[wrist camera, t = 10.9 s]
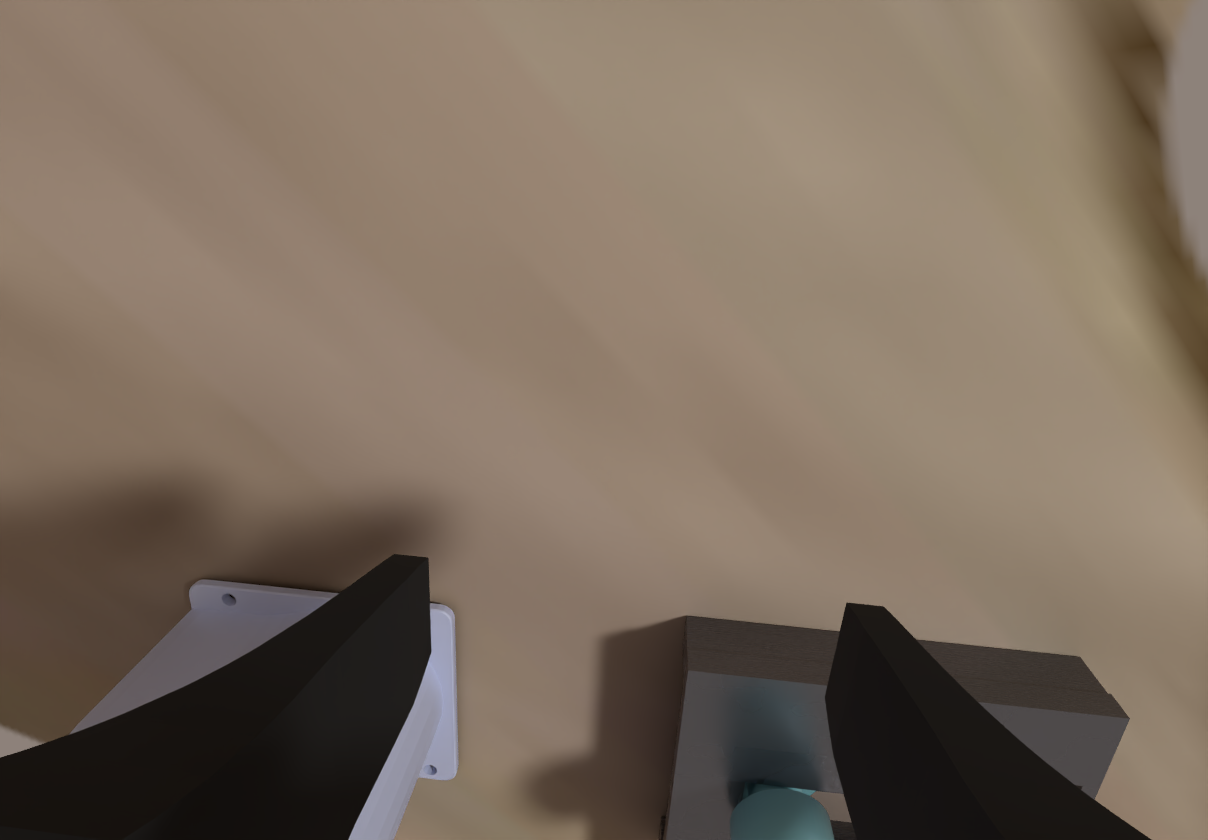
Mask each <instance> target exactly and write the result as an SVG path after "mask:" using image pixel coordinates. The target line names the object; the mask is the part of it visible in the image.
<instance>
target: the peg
mask: <svg viewBox="0 0 1208 840" xmlns="http://www.w3.org/2000/svg"><path fill="white" fill-rule="evenodd" d="M814 792H815V791H814V790H806V789H797V788H789V787H780V786H772V785H763V784H755V783H746V782H745V786H744V791H743V797H742V801H741V802H740V803H739V804H738V805H737V806H736V807H735V808H734V810H733V812H732V814H731V817H730V835H731V840H834V835H833V831H832V826H831V822H830V818H829V815H828V813H827V811H826V810H825V808H824V807H823V806H822V805H821V804H820V803H819V802H818V801H817V800H815V799H814V798H812V797H811V796H810V795H811V794H813V793H814Z"/></svg>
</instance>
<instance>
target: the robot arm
mask: <svg viewBox="0 0 1208 840" xmlns="http://www.w3.org/2000/svg"><path fill="white" fill-rule="evenodd" d="M229 594H231V595H233V596H234V597H235V599H234V598H232V597H231V596H229ZM189 598H190V603H191V608H192V609H191V610H190V611H189V612H188V613H187V614H186V615H185V616H184V617H183V618H182V619H181V620H180V621H179V622H178V623H177V624H176V625H175V626H174V627H173V628H172V629H171V630H170V631H169V632H168V633H167V634H166V635H165V636H164V637H163V638H162V639H161V640H160V641H159V642H158V643H157V644H156V645H155V647H154V648H153V649H152V650H151V651H150V652H149V653H148V654H147V655H146V656H145V657H144V658H143V659H142V660H141V661H140V662H139V663H138V664H137V665H136V666H135V667H134V668H133V669H132V670H131V671H130V672H129V673H128V674H127V675H126V676H125V677H124V678H123V679H122V680H121V681H120V682H119V683H118V684H117V685H116V686H115V687H114V688H113V689H112V690H111V691H110V692H109V693H108V694H107V695H106V696H105V697H104V698H103V699H102V700H101V701H100V702H99V703H98V704H97V705H96V706H95V707H94V708H93V709H92V710H91V711H90V712H89V713H88V714H87V715H86V716H85V717H84V718H83V719H82V720H81V721H80V722H79V723H78V724H77V726H76V727H75V728H74V729H73V730H72V731H71V733H70V734H69V735H67V736H64V737H61V738H58V739H56V740H53V741H50V742H47V743H44V744H41V745H38V746H35V747H32V748H30V749H27V750H24V751H21V752H18V753H14V754H11V755H7V756H4V757H1V758H0V840H394V838H395V835H396V832H397V830H398V827H399V825H400V822H401V820H402V817H403V815H404V812H405V809H406V807H407V804H408V802H409V799H410V797H411V794H412V792H413V789H414V787H415V784H416V781H417V779H418V777H421V778H429V779H437V780H450V779H453V778H454V777H455V775H456V772H457V769H458V726H457V685H456V643H455V616H454V613H453V611H452V610H451V609H450V608H449V607H447V606H445V605H442V604H434V603H430V592H429V563H428V558H426V557H417V556H407V555H398V554H394V555H392V556H391V557H389V558H388V559H386V560H385V561H383V562H382V563H381V564H379V565H378V566H376V567H375V568H374V569H372V570H371V571H370V572H368V573H367V574H365V575H364V576H363V577H361V578H360V579H359V580H357V581H356V582H354V583H353V584H352V585H350V586H349V587H347V588H346V589H345V590H343V591H342V592H340V593H330V592H321V591H311V590H302V589H292V588H283V587H273V586H264V585H255V584H245V583H236V582H226V581H217V580H207V579H202V580H199V581H197V582H196V583H195V584H194V585H193V586H191V588H190V589H189ZM430 619H431V620H430ZM825 703H826V711H827V718H828V725H829V732H830V738H831V745H832V751H833V756H834V760H835V764H836V767H837V771H838V775H839V778H840V782H841V786H842V789H843V793H844V796H845V800H846V804H847V807H848V811H849V814H850V818H851V821H852V825H853V828H854V832H855V835H856V839H857V840H1151V839H1150V838H1148V837H1147V836H1145V835H1144V834H1142V833H1141V832H1139V831H1138V830H1137V829H1135V828H1134V827H1132V826H1131V825H1129V824H1128V823H1126V822H1125V821H1124V820H1122V819H1121V818H1119V817H1118V816H1116V815H1115V814H1113V813H1112V812H1110V811H1109V810H1108V809H1106V808H1105V807H1104V806H1102V805H1101V804H1100V803H1098V802H1097V801H1095V800H1094V799H1093V798H1091V797H1090V796H1089V795H1087V794H1086V793H1085V792H1083V791H1082V790H1081V789H1079V788H1078V787H1077V786H1076V785H1074V784H1073V783H1072V782H1071V781H1069V780H1068V779H1067V778H1065V777H1064V776H1063V775H1062V774H1060V773H1059V772H1058V771H1057V770H1055V769H1054V768H1053V767H1051V766H1050V765H1049V764H1048V763H1046V762H1045V761H1044V760H1043V759H1041V758H1040V757H1039V756H1038V755H1037V754H1035V753H1034V752H1033V751H1032V750H1031V749H1029V748H1028V747H1027V746H1026V745H1025V744H1024V743H1022V742H1021V741H1020V740H1019V739H1018V738H1017V737H1016V736H1015V735H1013V734H1012V733H1011V732H1010V731H1009V730H1008V729H1007V728H1006V727H1004V726H1003V725H1002V724H1001V723H1000V722H999V721H998V720H997V719H996V718H994V717H993V716H992V715H991V714H990V713H989V712H988V711H987V710H986V709H985V708H984V707H983V706H982V705H980V704H979V703H978V702H977V701H976V700H975V699H974V698H973V697H972V696H971V695H970V694H969V693H968V692H967V691H966V690H965V689H964V688H963V687H962V686H961V685H960V684H959V683H958V682H957V681H956V680H955V679H954V678H953V677H952V676H951V675H950V674H949V673H948V672H947V671H946V670H945V669H944V668H943V667H942V666H941V665H940V664H939V663H938V662H937V661H936V660H935V659H934V658H933V657H932V656H931V655H930V654H929V653H928V652H927V651H926V650H925V649H924V648H923V647H922V645H921V644H920V643H919V642H918V641H917V640H916V639H915V638H914V637H913V636H912V635H911V634H910V633H909V632H908V631H907V630H906V629H905V628H904V627H903V626H902V625H901V624H900V622H899V621H898V620H897V619H896V618H895V617H894V616H893V615H892V614H891V613H890V612H889V611H888V610H887V609H886V608H884V607H883V606H874V605H864V604H855V603H846V607H845V612H844V616H843V620H842V625H841V629H840V633H839V637H838V642H837V646H836V650H835V655H834V659H833V663H832V668H831V672H830V676H829V681H828V685H827V689H826V694H825ZM430 765H432V766H430ZM433 766H434V767H433Z"/></svg>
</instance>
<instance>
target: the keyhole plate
mask: <svg viewBox="0 0 1208 840" xmlns="http://www.w3.org/2000/svg"><path fill="white" fill-rule="evenodd" d="M839 633H840V632H836V631H826V630H817V629H807V628H797V627H788V626H778V625H769V624H759V623H750V622H740V621H731V620H721V619H711V618H702V617H692V616H686V624H685V632H684V640H683V688H682V696H681V704H680V712H679V720H678V728H677V735H676V743H675V751H674V759H673V767H672V775H671V782H670V790H669V798H668V806H667V814H666V817H661V825H660V833H659V840H731V835H730V817H731V814H732V812H733V810H734V808H735V807H736V806H737V805H738V804H739V803H740V802H741V801H742V797H743V791H744V786H745V782H746V783H755V784H763V785H772V786H780V787H789V788H797V789H806V790H814V791H823V792H831V793H840V794H844V793H843V789H842V786H841V782H840V778H839V775H838V771H837V767H836V764H835V760H834V756H833V751H832V745H831V738H830V732H829V725H828V718H827V711H826V703H825V694H826V689H827V685H828V681H829V676H830V672H831V668H832V663H833V659H834V655H835V650H836V646H837V642H838V637H839ZM917 641H918V642H919V643H920V644H921V645H922V647H923V648H924V649H925V650H926V651H927V652H928V653H929V654H930V655H931V656H932V657H933V658H934V659H935V660H936V661H937V662H938V663H939V664H940V665H941V666H942V667H943V668H944V669H945V670H946V671H947V672H948V673H949V674H950V675H951V676H952V677H953V678H954V679H955V680H956V681H957V682H958V683H959V684H960V685H961V686H962V687H963V688H964V689H965V690H966V691H967V692H968V693H969V694H970V695H971V696H972V697H973V698H974V699H975V700H976V701H977V702H978V703H979V704H980V705H982V706H983V707H984V708H985V709H986V710H987V711H988V712H989V713H990V714H991V715H992V716H993V717H994V718H996V719H997V720H998V721H999V722H1000V723H1001V724H1002V725H1003V726H1004V727H1006V728H1007V729H1008V730H1009V731H1010V732H1011V733H1012V734H1013V735H1015V736H1016V737H1017V738H1018V739H1019V740H1020V741H1021V742H1022V743H1024V744H1025V745H1026V746H1027V747H1028V748H1029V749H1031V750H1032V751H1033V752H1034V753H1035V754H1037V755H1038V756H1039V757H1040V758H1041V759H1043V760H1044V761H1045V762H1046V763H1048V764H1049V765H1050V766H1051V767H1053V768H1054V769H1055V770H1057V771H1058V772H1059V773H1060V774H1062V775H1063V776H1064V777H1065V778H1067V779H1068V780H1069V781H1071V782H1072V783H1073V784H1074V785H1076V786H1077V787H1078V788H1079V789H1081V790H1082V791H1083V792H1085V793H1086V794H1087V795H1089V796H1090V797H1091V798H1093V799H1095V797H1096V795H1097V793H1098V790H1099V788H1100V786H1101V783H1102V781H1103V779H1104V777H1105V774H1106V772H1107V770H1108V767H1109V765H1110V763H1111V761H1112V758H1113V756H1114V754H1115V751H1116V749H1117V747H1118V745H1119V742H1120V740H1121V738H1122V735H1123V733H1124V731H1125V729H1126V726H1127V724H1128V722H1129V719H1130V718H1129V717H1128V716H1127V714H1126V713H1125V712H1124V710H1123V709H1122V708H1121V706H1120V705H1119V704H1118V702H1117V701H1116V700H1115V699H1114V697H1113V696H1112V695H1111V694H1108V693H1107V692H1106V691H1105V689H1104V688H1103V687H1102V685H1101V684H1100V683H1099V681H1098V680H1097V679H1096V677H1095V676H1094V675H1093V673H1092V672H1091V671H1090V669H1089V668H1088V667H1087V665H1086V664H1085V663H1084V661H1083V660H1082V659H1081V657H1075V656H1065V655H1055V654H1046V653H1036V652H1027V651H1017V650H1008V649H998V648H989V647H979V646H969V645H960V644H950V643H941V642H931V641H922V640H917ZM830 822H831V826H832V831H833V835H834V840H857V839H856V835H855V832H854V828H853V825H852V823H849V822H841V821H833V820H830Z"/></svg>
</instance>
